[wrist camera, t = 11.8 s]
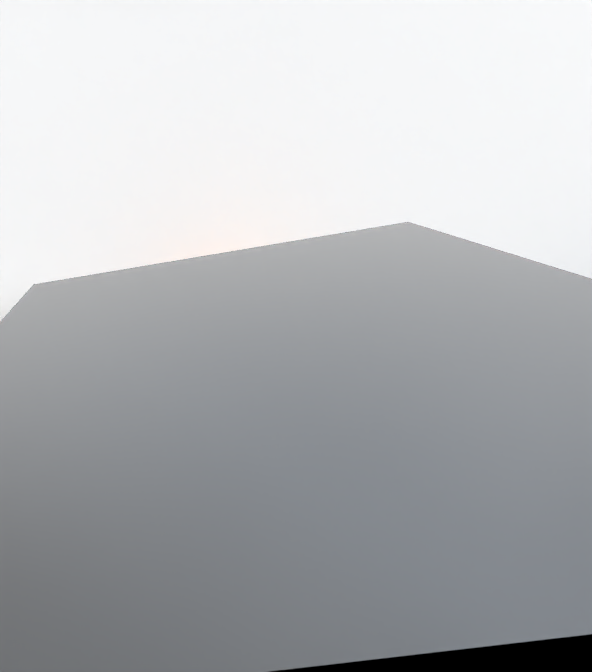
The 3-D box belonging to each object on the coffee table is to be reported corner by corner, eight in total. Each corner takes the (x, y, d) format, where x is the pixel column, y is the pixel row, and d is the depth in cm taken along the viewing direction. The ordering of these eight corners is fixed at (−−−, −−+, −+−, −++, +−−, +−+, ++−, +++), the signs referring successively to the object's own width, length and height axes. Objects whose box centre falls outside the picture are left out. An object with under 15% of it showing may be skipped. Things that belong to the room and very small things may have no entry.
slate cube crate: (408, 221, 10) (1246, 482, 2) (409, 490, 13) (768, 986, 5) (33, 284, 9) (-1241, 1710, 1) (135, 571, 12) (88, 1427, 4)
